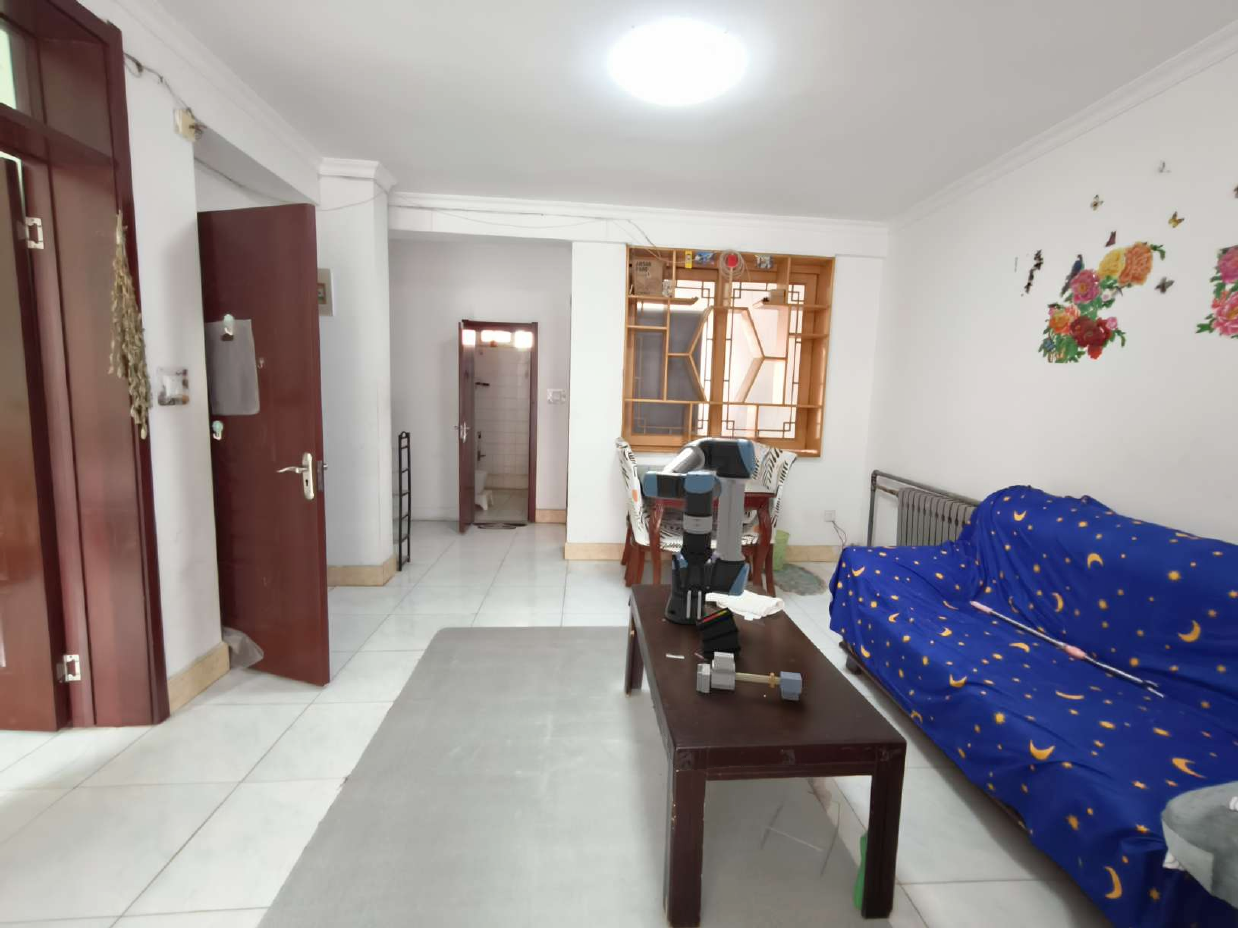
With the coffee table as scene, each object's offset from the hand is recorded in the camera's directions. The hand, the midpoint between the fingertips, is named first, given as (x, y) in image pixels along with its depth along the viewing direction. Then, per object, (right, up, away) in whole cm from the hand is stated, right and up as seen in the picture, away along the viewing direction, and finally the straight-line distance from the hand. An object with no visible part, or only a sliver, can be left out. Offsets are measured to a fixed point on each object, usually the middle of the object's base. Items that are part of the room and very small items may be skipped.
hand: (693, 616), depth 145 cm
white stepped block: (+8, -18, +1) cm, 20 cm away
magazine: (+10, -18, +20) cm, 28 cm away
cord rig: (+14, -20, 0) cm, 25 cm away
